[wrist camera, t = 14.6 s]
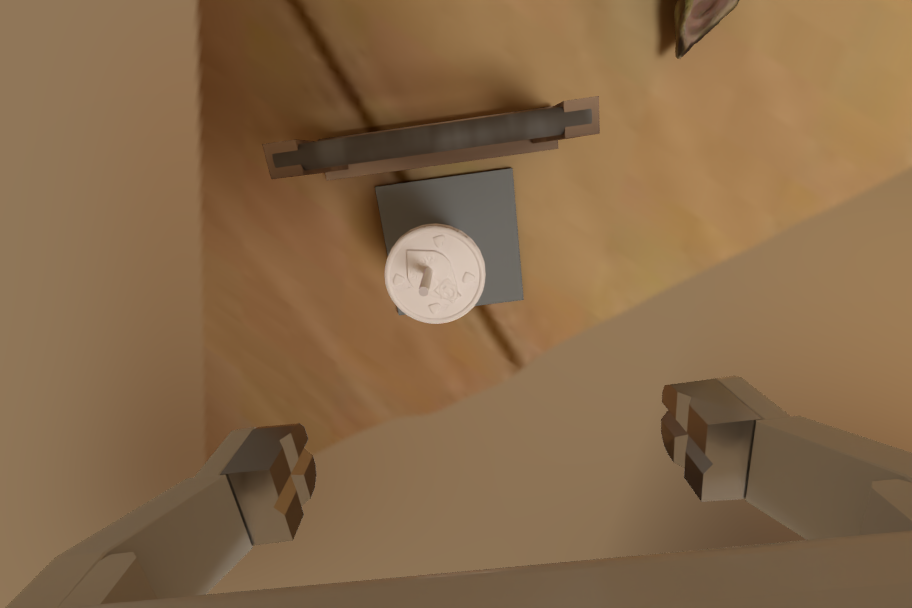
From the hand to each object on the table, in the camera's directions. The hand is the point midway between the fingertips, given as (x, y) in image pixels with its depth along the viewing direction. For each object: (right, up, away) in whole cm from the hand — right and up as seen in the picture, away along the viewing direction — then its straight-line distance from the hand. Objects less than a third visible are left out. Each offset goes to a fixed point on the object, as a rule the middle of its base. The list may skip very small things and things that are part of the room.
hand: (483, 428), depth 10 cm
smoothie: (-2, +8, +26) cm, 27 cm away
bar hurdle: (-2, +15, +24) cm, 29 cm away
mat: (-1, +8, +27) cm, 28 cm away
